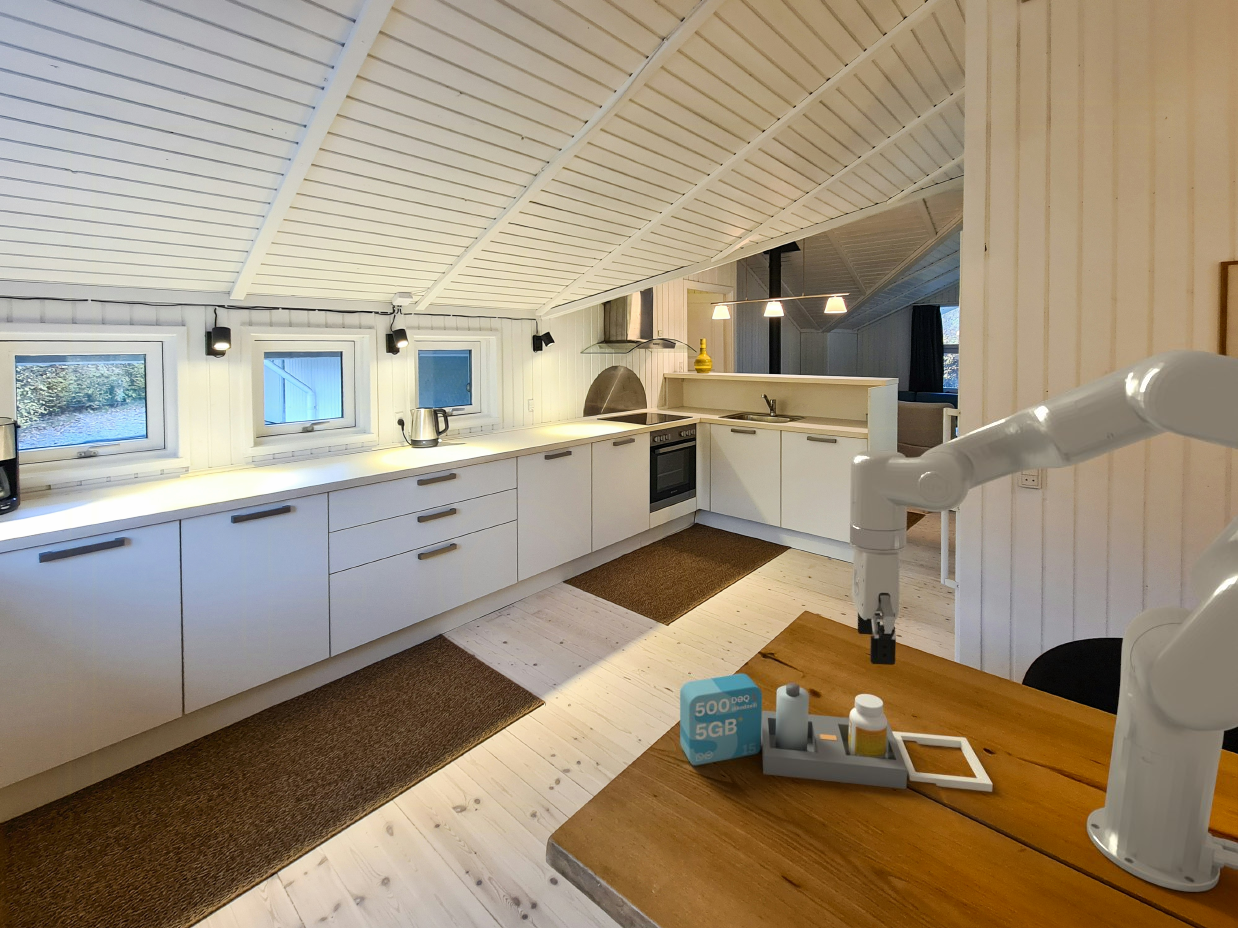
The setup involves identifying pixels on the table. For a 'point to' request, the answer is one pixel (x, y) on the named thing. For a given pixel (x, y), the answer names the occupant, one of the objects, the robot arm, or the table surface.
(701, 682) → the data package
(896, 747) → the grey compartment tray
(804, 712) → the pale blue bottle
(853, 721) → the supplement bottle
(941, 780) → the tray frame
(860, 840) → the table surface
